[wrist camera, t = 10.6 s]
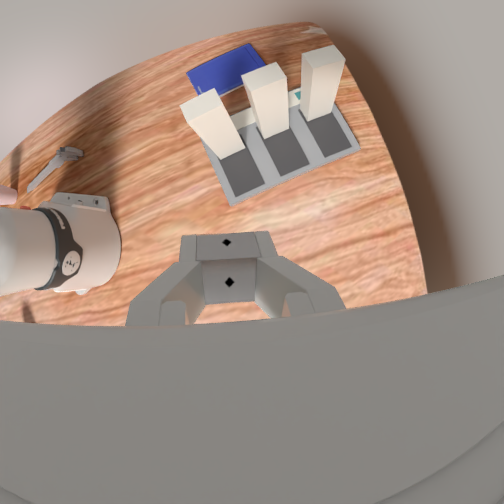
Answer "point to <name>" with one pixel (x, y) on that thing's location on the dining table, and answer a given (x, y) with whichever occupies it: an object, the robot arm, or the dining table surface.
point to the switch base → (280, 150)
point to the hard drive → (225, 71)
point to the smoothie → (7, 195)
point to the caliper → (56, 164)
